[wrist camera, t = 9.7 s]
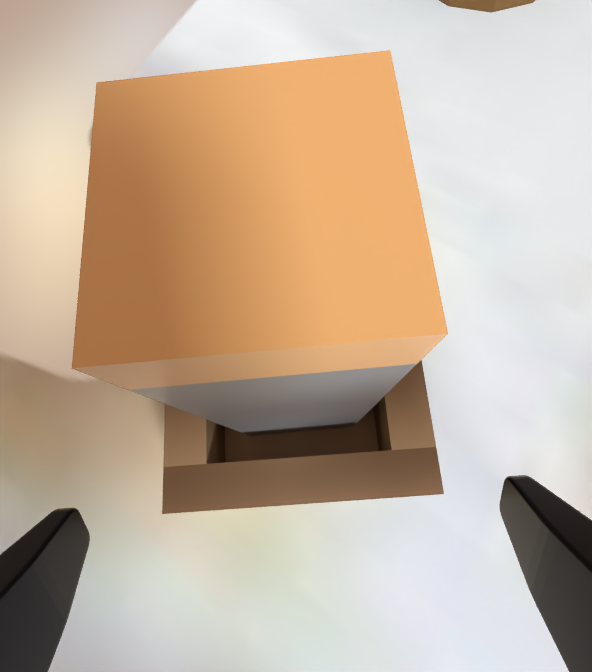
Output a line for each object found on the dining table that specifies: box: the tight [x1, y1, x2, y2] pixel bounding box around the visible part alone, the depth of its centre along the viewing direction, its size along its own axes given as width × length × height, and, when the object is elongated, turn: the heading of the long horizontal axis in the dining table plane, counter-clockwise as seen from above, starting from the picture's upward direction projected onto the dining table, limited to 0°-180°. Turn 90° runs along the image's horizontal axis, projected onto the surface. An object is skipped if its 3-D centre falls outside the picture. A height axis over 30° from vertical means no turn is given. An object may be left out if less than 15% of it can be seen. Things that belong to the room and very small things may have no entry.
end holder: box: [162, 361, 444, 514], centre depth 17 cm, size 9×9×4 cm
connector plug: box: [72, 50, 448, 436], centre depth 12 cm, size 4×4×13 cm
